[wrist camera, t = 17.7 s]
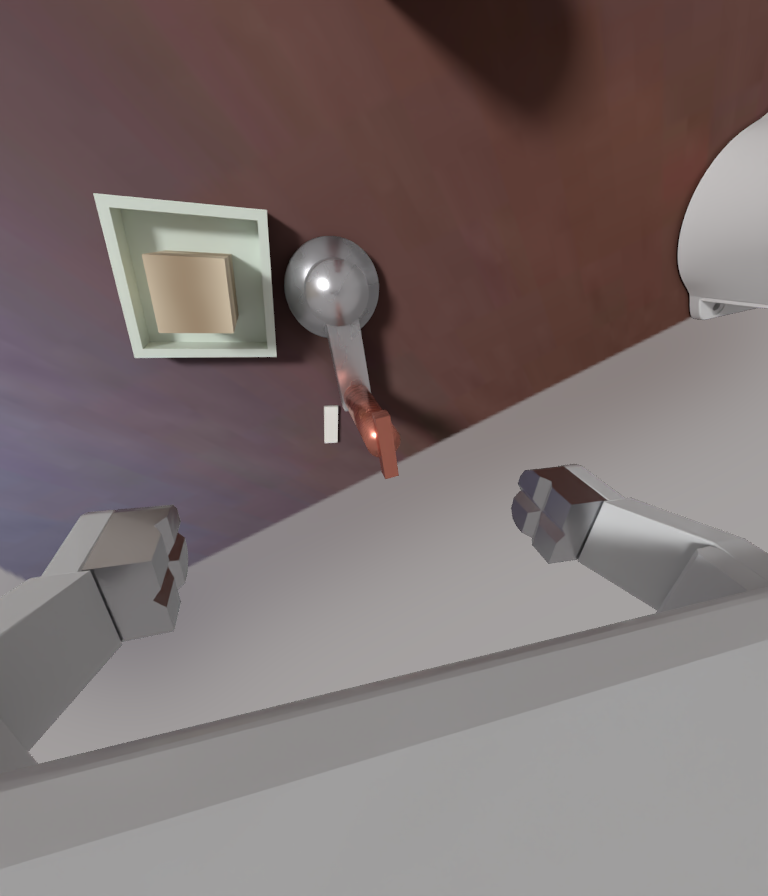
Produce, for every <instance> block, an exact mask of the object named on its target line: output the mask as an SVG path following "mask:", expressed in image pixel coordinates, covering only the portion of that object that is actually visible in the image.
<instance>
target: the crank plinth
mask: <svg viewBox="0 0 768 896" xmlns="http://www.w3.org/2000/svg"><path fill="white" fill-rule="evenodd" d="M328 257H337V258H341V259H344V260H347V261H350V262H351V263H353V264H355V265H356V266H357V267H358V268H359V269H360V270H361V271H362V273H363V274H364V276H365V278H366V281H367V284H368V289H369V298H368V303H367V306H366V308H365V310H364V312H363V313H362V315H361V316H360V317H359V324H360V329H361V328H362V327H363V326H364V325H365V324H366V323H367V322H368V321H369V319H370V318H371V316H372V314H373V313H374V311H375V308H376V305H377V301H378V296H379V282H378V276H377V272H376V270H375V267H374V265H373V263H372V261H371V259H370V258H369V256H368V255H367V254H366V253H365V252H364V250H362V249H361V248H360V247H359V246H358V245H356V244H355V243H353V242H352V241H349V240H347V239H345V238H341V237H336V236H321V237H317V238H313V239H311V240H309V241H307V242H305V243H304V244H302V245H301V246H300V247H299V248H298V249H297V250H296V251H295V252H294V254H293V255H292V257H291V258H290V260H289V262H288V265H287V267H286V271H285V276H284V291H285V296H286V300H287V302H288V305H289V308H290V310H291V312H292V314H293V315H294V317H295V318H296V319H297V321H298V322H299V323H300V324H301V325H302V326H303V327H305V328H306V329H307V330H309V331H310V332H312V333H314V334H316V335H319V336H322V337H326V338H328V337H327V333H326V328H325V323H324V322H322V321H321V320H319V319H318V318H317V317H316V316H315V315H314V314H313V312H312V311H311V309H310V308H309V306H308V304H307V302H306V299H305V296H304V281H305V278H306V275H307V273H308V271H309V270H310V268H311V267H312V266H313V265H314V264H315V263H316V262H318V261H319V260H322V259H324V258H328Z"/></svg>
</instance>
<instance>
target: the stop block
mask: <svg viewBox="0 0 768 896" xmlns="http://www.w3.org/2000/svg"><path fill="white" fill-rule="evenodd" d="M141 255H142V259H143V264H144V268H145V273H146V277H147V282H148V286H149V291H150V295H151V300H152V305H153V309H154V314H155V318H156V323H157V327H158V332H159V333H234V331H235V327H236V323H237V320H238V316H239V313H238V305H237V296H236V288H235V279H234V271H233V262H232V254H223V253H206V252H188V251H171V250H164V251H158V252H152V253H146V254H141Z"/></svg>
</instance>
